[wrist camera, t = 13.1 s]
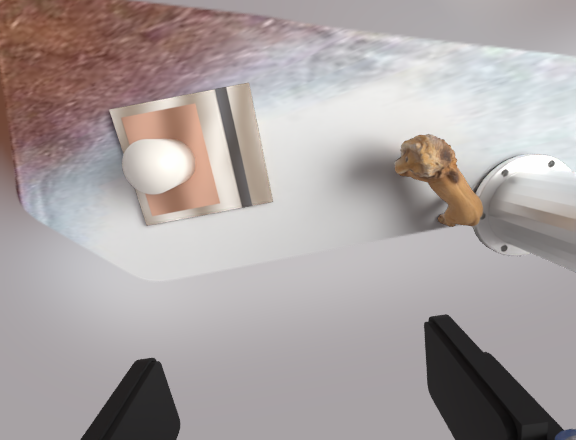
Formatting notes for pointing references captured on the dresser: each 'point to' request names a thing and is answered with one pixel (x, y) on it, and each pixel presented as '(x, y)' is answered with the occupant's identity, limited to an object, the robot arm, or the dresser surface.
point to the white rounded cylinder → (157, 164)
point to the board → (202, 151)
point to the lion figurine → (440, 178)
